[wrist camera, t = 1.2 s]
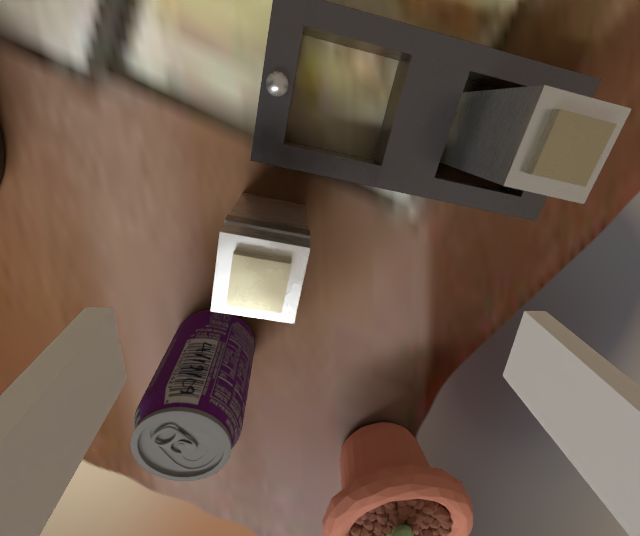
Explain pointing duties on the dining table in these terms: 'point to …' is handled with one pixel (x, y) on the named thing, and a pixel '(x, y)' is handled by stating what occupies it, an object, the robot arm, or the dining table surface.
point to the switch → (445, 115)
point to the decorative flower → (394, 489)
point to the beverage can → (195, 399)
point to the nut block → (261, 259)
